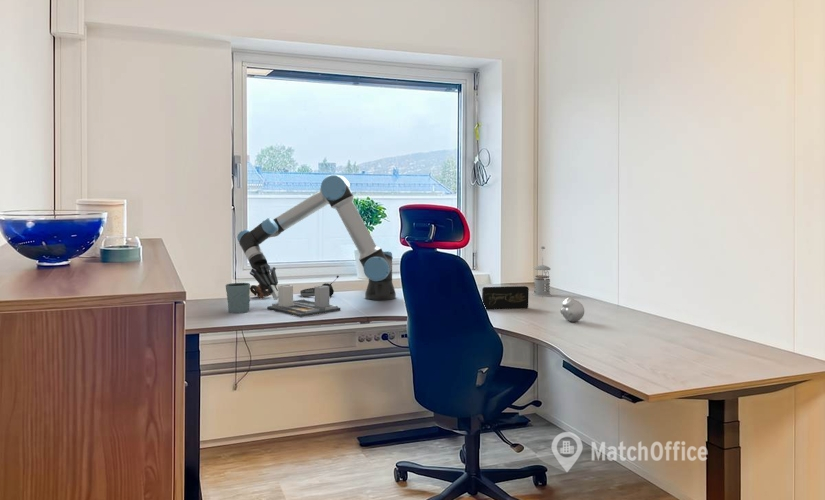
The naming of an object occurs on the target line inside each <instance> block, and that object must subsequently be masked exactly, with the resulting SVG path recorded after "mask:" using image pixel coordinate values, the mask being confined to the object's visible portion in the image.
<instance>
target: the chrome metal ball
mask: <svg viewBox="0 0 825 500" xmlns="http://www.w3.org/2000/svg"><path fill="white" fill-rule="evenodd" d="M561 304H562V307H561V308H560V311H559V312H560V314H561V315H562V317H563V318H564V319H565V320H566V321H568V322H571V323H576V322H578V321H580V320H582V318H584V316H585V307H584V305H583V303H582V302H580V301H579V300H577V299H575V298H574V297H572V296H568V297H567V298H565V299H564V300H563V302H562V303H561Z"/></svg>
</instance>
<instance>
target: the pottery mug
mask: <svg viewBox="0 0 825 500" xmlns="http://www.w3.org/2000/svg"><path fill="white" fill-rule="evenodd" d="M250 292H251V293H252V294H253V295H254V296H257V297H259V298H260V299H261V300H263V298H265V297H268V296H272V294H271V293H269V291H268V289H267V290H266V288H265V287H264V288H262V286H261V285H260V284H259V283H258V285H255V284H253V285H250Z"/></svg>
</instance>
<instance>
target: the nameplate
mask: <svg viewBox="0 0 825 500" xmlns="http://www.w3.org/2000/svg"><path fill="white" fill-rule="evenodd" d="M481 292H482V293H481V294H482V295H481V299H482V300H483V303H484V305H485V307H486V309H487V311H489V310H494V311H495V310H522V309H525V310H527V309H528V308H529V296H530V295H529V287H528V286H526V285H521V286H520V285H519V286H518V285H517V286H513V285H511V286H510V285H509V286H507V285H506V286H484V287H482V291H481ZM482 300H481V301H482Z"/></svg>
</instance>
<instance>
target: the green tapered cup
mask: <svg viewBox="0 0 825 500" xmlns="http://www.w3.org/2000/svg"><path fill="white" fill-rule="evenodd" d="M250 287H251V284H250V282H233V283H232V282H231V283H227V284H225V290H226V297H227V298H226V300H227V309H228V313H229V314H246V313H249V312H250V299H251V298H250V292H251V291H250Z"/></svg>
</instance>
